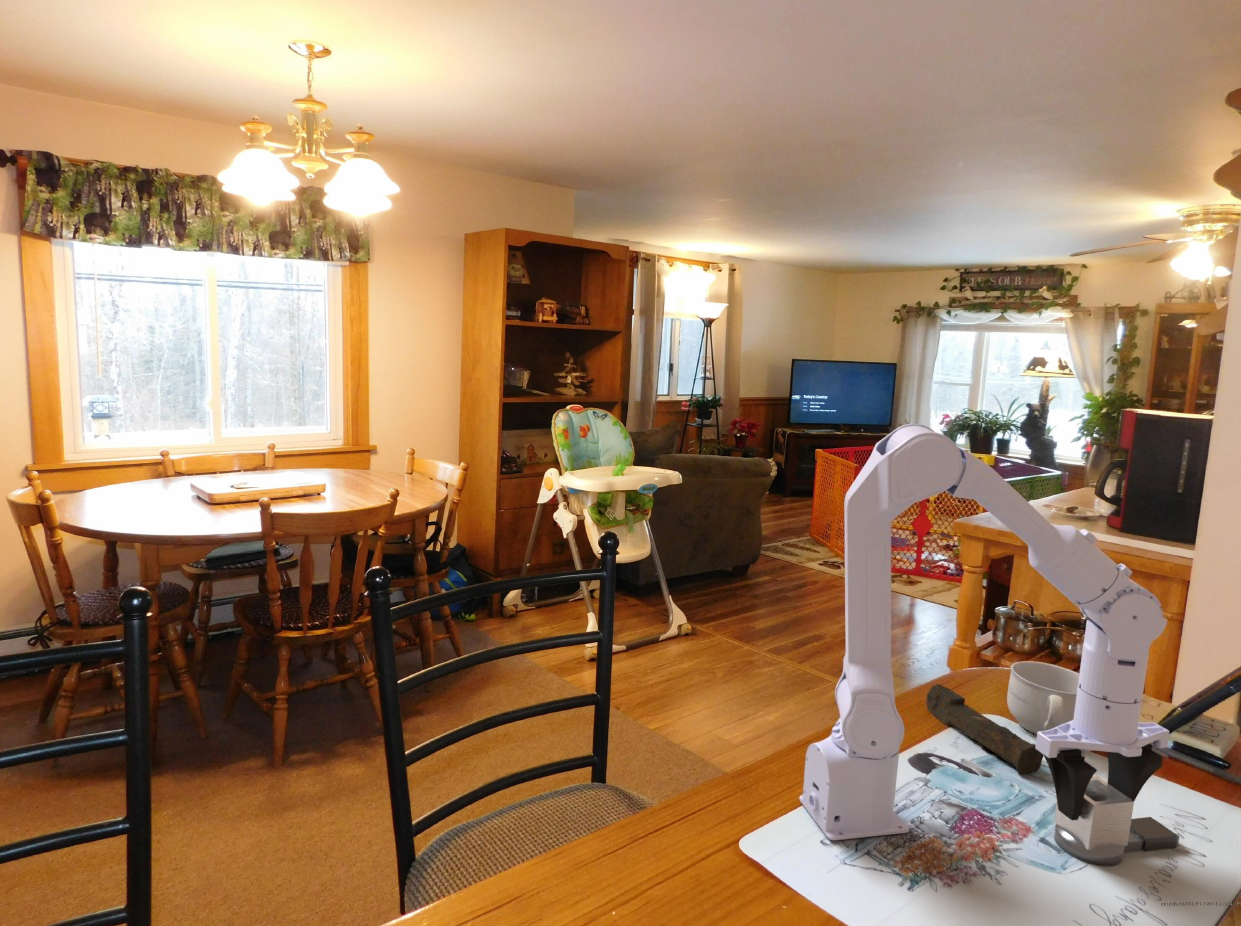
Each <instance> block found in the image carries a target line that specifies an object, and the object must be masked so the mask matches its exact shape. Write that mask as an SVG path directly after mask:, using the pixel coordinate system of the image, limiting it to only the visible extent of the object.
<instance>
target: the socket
mask: <svg viewBox="0 0 1241 926" xmlns="http://www.w3.org/2000/svg"><path fill="white" fill-rule="evenodd" d="M1093 800H1094V801H1093ZM1095 801H1096V802H1095ZM1134 805H1135V801H1133V800H1131V799H1130V798H1128V797H1127V796H1125V795H1124V794H1122V793H1121V792H1120V791H1118V790H1117V789H1115V788H1114V787H1112V786H1111V785H1109V784H1108V781H1105V780H1104V779H1102V778H1101V777H1100V776H1092V778H1091V780H1090V782H1089V784H1088V786H1087V788H1086V791H1085V794H1084V799H1083V804H1082V809H1081V813H1080V816H1079V818H1078V820H1070V819H1069V818H1068V817H1067V816H1065V815H1064V814H1063V813H1061V812H1060V811H1059V810H1058V804H1057V803H1056V805H1055V806H1056V807H1055V811H1054V812H1055V813H1054V821H1053V822H1054V824H1055V825H1056V824H1057V825H1058V826H1059V827H1061V828H1062V829H1063V830H1064V831H1065V832H1067V833H1068V834H1069V835H1070V836H1072V837H1073V838H1074V839H1075V840H1076V841H1078V842H1079V843H1080V844H1081V845H1083V846H1084V847H1085V848H1086V849H1087V850H1094V849H1102V848H1111V847H1119V846H1127V845H1128V839H1129V832H1130V825H1131V819H1133V818H1132V817H1133V810H1134Z"/></svg>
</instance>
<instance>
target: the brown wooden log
mask: <svg viewBox="0 0 1241 926" xmlns="http://www.w3.org/2000/svg"><path fill="white" fill-rule="evenodd" d="M965 702H966V699H965V698H964V697H963V696H962V695H960V694H958V693H957V692H955V691H954V690H951V689H950V688H949V687H946V686H944V685H942V684H939V683H937V684H935V685H932V686H931V687H930V688H929V690H928V692H927V693H926V701H925V703H926V708H927V709H928V711H929V712H930V713H931V714H932V715H933V716H934V717H936V719H938V720H939V721H940V722H941V723H942V724H943V725H945V727H951V728H957V730H960V731H961V732H962V733H963V734H966V736H968V737H969V738H971V739H974V740H975V741H976V742H977V743H980V745H982V746H984V747H985V748H986V749H988V750H989V751H991V752H992V753H993V754H996V755H997V756H998V757H1000V758H1001V759H1002V760H1004V761H1006V763H1008V764H1011V765H1012V766H1014V767H1015V769H1016V772H1017V774H1018V775H1019V776H1024V775H1033V774H1035V773H1036V772H1038V771H1039V769H1040V768H1041V766H1042V761H1043V759H1044V755H1043V754H1042V753H1041V752H1039V751H1038V750H1037V749H1036V748H1035V747H1036V743H1031V742H1029V741H1026V740H1025V739H1023V738H1021V737H1020V736H1018V735H1017V734H1016V733H1014V732H1013V731H1011V730H1010V729H1009V728H1008V727H1006V726H1001V725H999V724H998V723H997V722H995V721H994V720H991V719H990V718H988V717H986V716H985V715H984V714H981V713H980V712H978V711H977V710H975V709H973V708H972V707H970V706H969V705H968V704H965Z"/></svg>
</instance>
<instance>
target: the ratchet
mask: <svg viewBox="0 0 1241 926" xmlns="http://www.w3.org/2000/svg"><path fill="white" fill-rule="evenodd" d="M1093 801H1094V800H1093ZM1095 802H1096V801H1095ZM1053 838H1054V842H1055V844H1056V845H1057V847H1059V848H1060V850H1062V851H1063V852H1065V853H1066V854H1067V855H1069V856H1071V857H1072V858H1074V859H1076V860H1078V861H1081V862H1083V863H1086V864H1088V865H1093V866H1098V867H1108V868H1109V867H1115V866H1119V865H1120V864H1121V863H1122V862H1123V860H1124V855H1125V853H1133V852H1141V851H1142V852H1153V851H1163V850H1169V849H1170V850H1171V849H1176V847H1179V842H1180V835H1178V834H1177V833H1175V832H1174V831H1172V830H1171V829H1169V828H1168V827H1167V826H1165V825H1163V823H1161V822H1159V821H1158V820H1156V819H1154V818H1152V816H1145V817H1137V818H1132V819H1131V825H1130V832H1129V839H1128V845H1127V846H1119V847H1111V848H1102V849H1094V850H1087V849H1086V848H1085V847H1084V846H1083V845H1081V844H1080V843H1079V842H1078V841H1076V840H1075V839H1074V838H1073V837H1072V836H1070V835H1069V834H1068V833H1067V832H1065V831H1064V830H1063V829H1062V828H1061V827H1059V826H1058V825H1057V824H1056V823H1055V828H1054V834H1053Z"/></svg>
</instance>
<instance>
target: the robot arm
mask: <svg viewBox="0 0 1241 926" xmlns="http://www.w3.org/2000/svg"><path fill="white" fill-rule="evenodd" d="M943 492H947V493H948V494H949V495H950V496H952V497H954V498H960V499H968V500H974V501H975V502H976V503H977V504H979V505H980V506H981V507H982V508H984V509H985V510H986V511H987V512H988V513H989V514H990V515H992V517H994V518H996V520H998V521H999V522H1000V523H1001V524H1003V525H1004V526H1005V527H1006V528H1007V529H1009V530H1010V531H1011V532H1012V533H1013V534H1015V535H1016V536H1017V537H1018V538H1019V539H1020V540H1021V541H1023V542H1024V543H1025V544H1026V545H1027V547H1028V548H1027V549H1028V563H1029V565H1030V566H1031V567H1032V568H1033V569H1034V570H1035V571H1036V572H1038V573H1039V575H1040V576H1041V577H1043V578H1044V579H1045V580H1047V581H1048V582H1049V583H1050V585H1052V586H1053V587H1054V588H1056V589H1057V590H1058V591H1059V592H1060V593H1061V594H1062V595H1063V596H1065V598H1067V599H1068V600H1069V601H1070V602H1072V604H1073V605H1074V606H1076V607H1078V609H1079V611H1080V612H1081V613H1082V615H1083V616H1087V617H1088V618H1089V619H1087V620H1086V623H1085V632H1084V639H1083V643H1082V653H1081V659H1080V666H1079V667H1080V668H1079V682H1078V688H1077V696H1076V704H1075V711H1074V719H1073V720H1072V721H1069V722H1067V723H1065V724H1062V725H1060V726H1057V727H1055V728H1052V729H1050V730H1046V731H1039V732H1037V734H1036V741H1035V744H1036V747H1035V748H1036V749H1037V750H1038V751H1039V752H1041V753H1042V754H1043V755H1044V756H1043V758H1044V759H1045V761H1046V763H1047V766H1048V768H1049V770H1050V774H1051V779H1052V780H1053V781H1052V782H1053V786H1054V790H1055V796H1056V797H1055V798H1056V804H1058V810H1059V811H1060V812H1061V813H1063V814H1064V815H1065V816H1067V817H1068V818H1069V819H1070V820H1078V818H1079V816H1080V813H1081V809H1082V804H1083V799H1084V794H1085V791H1086V788H1087V786H1088V784H1089V782H1090V780H1091V778H1092V777H1094V775H1095V774H1096V773H1097V771H1098V770H1097V768H1095V766H1092V765H1091V764H1089V762H1087V761H1086V760H1085V759H1086V758H1085V756H1083V752H1089V751H1090V752H1092V751H1094V752H1095V751H1098V752H1106V755H1107V765H1108V766H1107V767H1108V768H1107V769H1108V773H1107V774H1108V775H1107V776H1108V777H1107V783H1108V784H1109V785H1111V786H1112V787H1114V788H1115V789H1117V790H1118V791H1120V792H1121V793H1122V794H1124V795H1125V796H1127V797H1128V798H1130V799H1131V800H1133V801H1134V802H1135V801H1136V799H1137V797H1138V795H1139V794H1140V792H1141V790H1142V789H1143V787H1144V785H1145V784H1146V783H1147V781H1148V780H1149V779H1150V778H1151V777H1152V776H1153V774H1155V773H1156V772H1157V771H1158V770H1159V769H1161V768H1162V767H1163V761H1164V758H1163V757H1162V755H1160V754H1159V753H1157V752H1155V751H1154V750H1153V746H1154V747H1156V748H1158V749H1167V748H1168V745H1169V744H1168V743H1169V739H1170V730H1168V729H1167V728H1165V727H1163V726H1161V725H1160V724H1158V723H1156V722H1155V721H1154V722H1140V716H1141V708H1142V702H1143V696H1144V689H1145V683H1146V677H1147V676H1146V675H1147V669H1148V668H1147V667H1148V662H1149V655H1150V647H1151V645H1152V643H1153V642H1154V641H1155V640H1156V639H1158V638H1159V637H1160V636H1161V635H1162V634H1163V632H1164V630H1165V628H1166V627H1167V624H1168V619H1167V618H1166V617H1165V616H1164V610H1163V608H1161V607H1162V603H1161V602H1160V600H1159V598H1158V597H1157V596H1156V595H1155V594H1154V593H1152V592H1151V591H1150V590H1148V589H1146V588H1145V587H1143V586H1141V585H1140V584H1139V583H1137V582H1135V581H1134V580H1132V579H1131V578H1130V576H1131V575H1132V574H1133V571H1132V570H1131V569H1130V568H1129V567H1128V566H1127V565H1125V564H1123V563H1119V564H1117V563H1116V562H1115V561H1114V560H1113V559H1111V558H1110V557H1109V556H1108V555H1107V554H1106V553H1105V552H1104V551H1102V550H1101V549H1100V548H1099V547H1098V546H1097V545H1096V542H1097V541H1098V537H1096V536H1095V535H1094V533H1092V532H1091V531H1089V530H1087V529H1085V528H1083V529H1081V530H1079V529H1078V528H1077V527H1076V526H1074V525H1069V524H1063V525H1061V524H1059V525H1058V524H1052V523H1051V522H1050V521H1049V520H1047V519H1046V517H1045V516H1044V515H1042V514H1041V513H1040V512H1039V511H1038V510H1037V509H1036V508H1035V507H1034V506H1033V505H1031V504H1030V503H1029V502H1028V500H1027V499H1025V498H1024V497H1023V496H1022V495H1021V494H1020V492H1018V491H1017V490H1016V489H1015V488H1014V487H1012V485H1011V484H1010V483H1009V482H1007V480H1005V479H1004V478H1003V477H1002V476H1001V475H1000V474H999V473H998V472H997V471H996V470H995V469H994V468H993V467H992V466H990V465H989V464H988V463H986V462H985V461H983V460H982V459H980V458H978V457H977V456H975V455H973V454H972V453H970V452H968V451H967V450H966V449H964V448H963V447H961V446H958V445H957V444H956V443H955V442H954V441H953V440H952V439H951V438H950V437H948V436H947V435H944V434H942V433H939V432H935V431H934V429H932V428H930V427H928V426H926V425H923V424H920V423H908V424H907V423H906V424H904V425H902V426H899V427H897V428H896V429H894V430H892V432H890V433H889V434H887V435H886V436H885V437H883V438H882V439H881V440H879V441H878V442H876V443H875V446H874V447H873V450H872V452H871V455H870V456H869V458H868V460H867V461H866V463H865V464H864V466H863V467H862V468H861V470H860V472H859V473H858V475H857V476H856V478H855V480H854V481H853V482H852V484H851V486H850V487H849V489H848V490H847V491H846V493H845V496H844V503H843V505H844V506H843V508H844V509H843V510H844V518H843V519H844V602H845V603H844V609H845V610H844V611H845V613H844V614H845V615H844V616H845V617H844V618H845V621H844V622H845V629H844V631H845V654H844V657H843V662H842V665H843V667H842V674H841V676H840V677H839V679H838V681H837V684H836V685H835V691H834V697H835V702H836V706H837V707H838V711H839V718H838V720H837V722H836V723H835V725H834V726H833V727H832V729H831V734H830V735H829V736H828V737H826V738H824V739H823V740H820V741H817V742H813V743H811V744H809V745H808V747H807V749H806V752H805V762H804V775H803V786H802V788H803V789H802V794H801V795H800V796H799V801H800V803H801V804H802V805H803V807H804V808H805V809H806V810H807V812H808V814H809V815H810V816H811V817H812V819H813V820H814V821H815V822H816V824H817V826H818V827H819V828H820V829H821V831H822V832H823V834H824V835H825V836H826V838H828V840H830V841H841V840H842V841H843V840H849V839H858V838H859V839H860V838H868V837H878V836H886V835H896V834H906V833H909V831H910V827H909V825H908V824H907V823H906V822H905V821H904V820H903V819H902V818H901V817H900V816H899V815H898V814H897V812H896V811H895V799H896V790H897V779H898V767H899V755H900V746H901V745H902V743H903V740H904V737H905V726H904V724H905V723H904V722H903V719H902V717H901V715H900V713H899V712H898V709H897V706H896V700H895V699H896V695H895V685H894V677H893V669H892V522H893V520H895V519H896V518H898V516H900V515H901V514H903V513H904V511H906V510H907V509H908V508H910V507H911V506H912V505H913V504H916V503H919V502H921V501H924V500H927V499H929V498H932V497H935V496H937V495H940V494H942V493H943Z"/></svg>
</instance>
